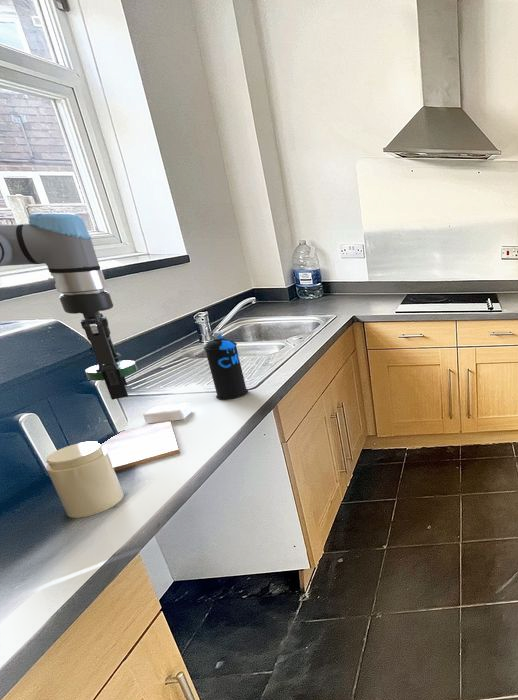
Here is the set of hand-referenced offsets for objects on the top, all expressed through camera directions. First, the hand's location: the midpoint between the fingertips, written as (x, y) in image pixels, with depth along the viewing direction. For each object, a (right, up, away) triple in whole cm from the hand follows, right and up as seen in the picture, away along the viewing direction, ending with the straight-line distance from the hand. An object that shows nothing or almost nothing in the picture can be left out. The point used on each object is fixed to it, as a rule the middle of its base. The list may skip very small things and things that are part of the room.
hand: (119, 391), depth 94 cm
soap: (-4, -8, +19) cm, 21 cm away
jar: (+10, -21, -15) cm, 27 cm away
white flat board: (0, -13, +5) cm, 14 cm away
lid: (0, +6, -2) cm, 6 cm away
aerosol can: (+3, -3, +34) cm, 34 cm away
